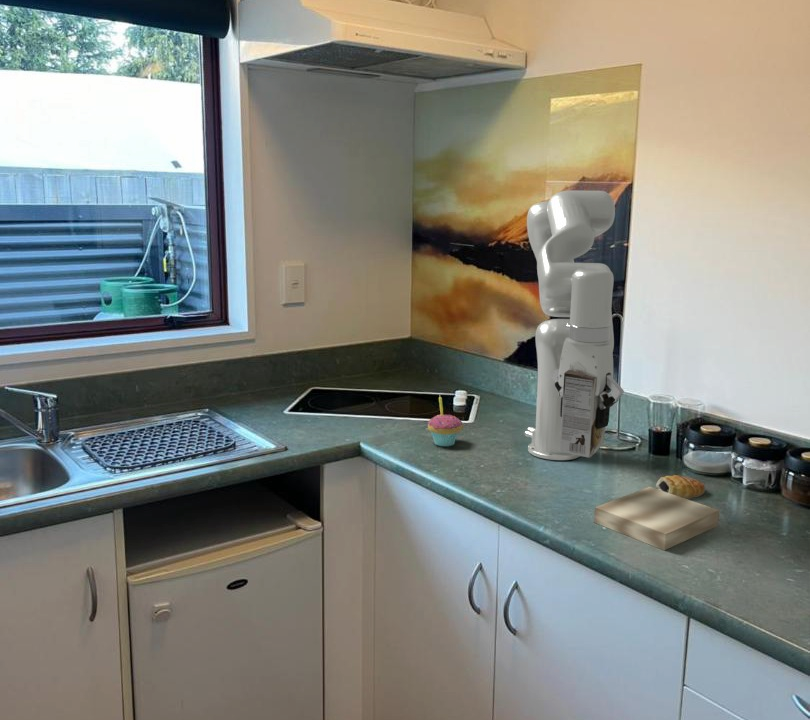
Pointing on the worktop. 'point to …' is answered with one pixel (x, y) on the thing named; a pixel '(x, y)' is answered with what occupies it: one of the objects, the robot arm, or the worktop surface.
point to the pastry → (680, 486)
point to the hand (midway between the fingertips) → (583, 421)
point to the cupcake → (444, 428)
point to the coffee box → (580, 416)
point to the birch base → (656, 517)
